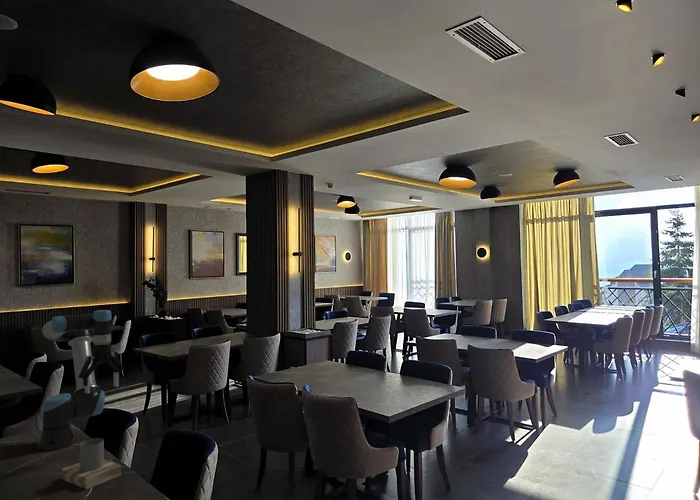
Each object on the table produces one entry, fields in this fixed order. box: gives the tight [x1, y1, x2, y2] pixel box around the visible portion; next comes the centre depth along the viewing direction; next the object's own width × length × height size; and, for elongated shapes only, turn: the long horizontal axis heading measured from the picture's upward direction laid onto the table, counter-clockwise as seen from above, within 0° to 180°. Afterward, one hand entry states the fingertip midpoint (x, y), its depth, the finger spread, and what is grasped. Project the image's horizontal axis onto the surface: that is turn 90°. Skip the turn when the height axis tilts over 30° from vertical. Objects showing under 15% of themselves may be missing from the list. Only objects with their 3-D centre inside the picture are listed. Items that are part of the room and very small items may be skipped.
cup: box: [79, 437, 105, 471], centre depth 187 cm, size 8×8×10 cm
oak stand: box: [61, 459, 122, 490], centre depth 186 cm, size 18×14×4 cm
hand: (102, 389), depth 213 cm, fingers open, 13 cm apart
